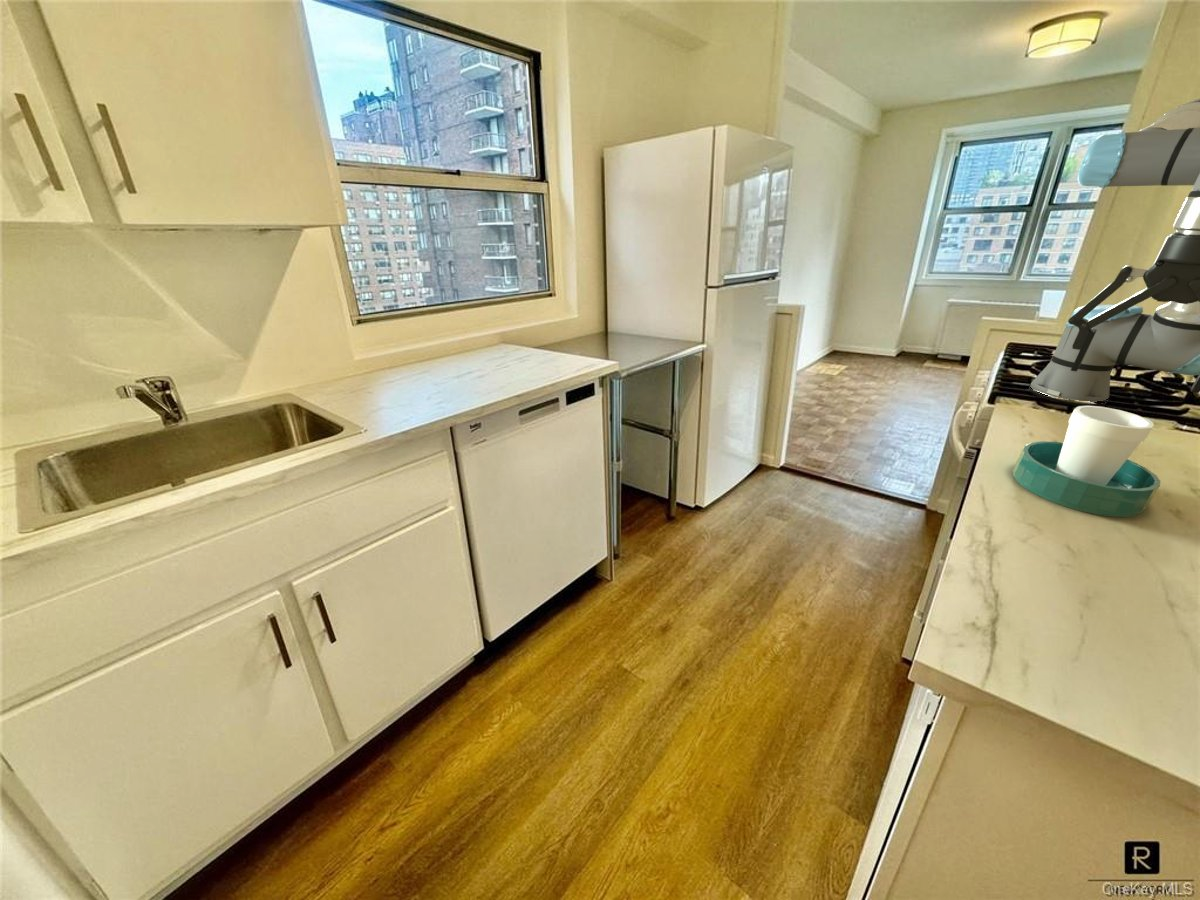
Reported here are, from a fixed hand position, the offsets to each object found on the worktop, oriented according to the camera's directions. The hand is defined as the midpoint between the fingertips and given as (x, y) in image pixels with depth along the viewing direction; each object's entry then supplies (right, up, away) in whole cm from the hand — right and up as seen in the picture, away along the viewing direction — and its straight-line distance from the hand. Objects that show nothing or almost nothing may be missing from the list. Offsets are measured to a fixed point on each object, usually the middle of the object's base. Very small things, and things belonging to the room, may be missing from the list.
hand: (1131, 379), depth 76 cm
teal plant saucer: (-1, -18, +8) cm, 20 cm away
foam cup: (-1, -17, +8) cm, 19 cm away
